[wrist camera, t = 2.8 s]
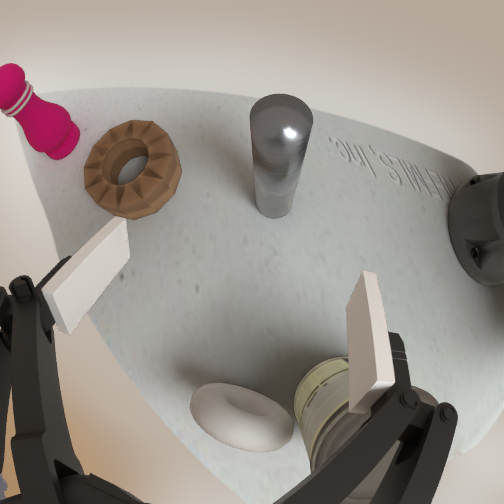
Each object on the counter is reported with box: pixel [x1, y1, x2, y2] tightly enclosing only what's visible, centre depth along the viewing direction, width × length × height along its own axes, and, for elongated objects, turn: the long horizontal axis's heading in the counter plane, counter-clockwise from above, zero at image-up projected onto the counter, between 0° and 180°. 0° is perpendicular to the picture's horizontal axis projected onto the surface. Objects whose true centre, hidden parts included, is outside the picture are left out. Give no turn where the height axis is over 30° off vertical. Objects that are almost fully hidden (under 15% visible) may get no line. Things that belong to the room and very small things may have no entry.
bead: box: [84, 120, 182, 220], centre depth 32 cm, size 11×11×4 cm
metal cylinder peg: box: [250, 94, 313, 219], centre depth 25 cm, size 4×4×16 cm
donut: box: [190, 383, 294, 452], centre depth 24 cm, size 10×4×10 cm, turn 68°
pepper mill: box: [0, 63, 80, 160], centre depth 26 cm, size 7×7×20 cm
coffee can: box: [294, 357, 439, 504], centre depth 22 cm, size 10×10×14 cm
